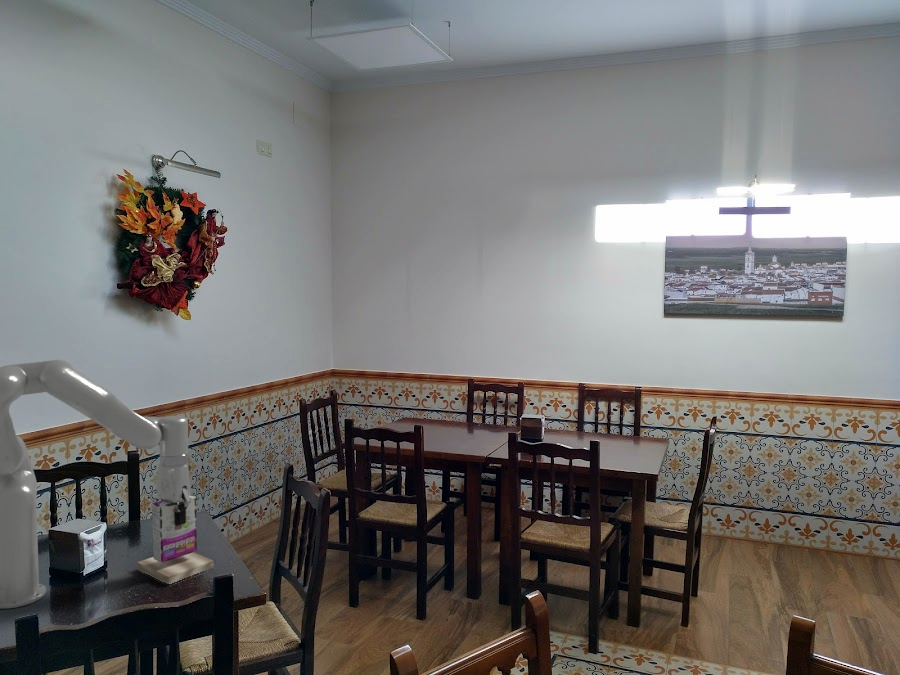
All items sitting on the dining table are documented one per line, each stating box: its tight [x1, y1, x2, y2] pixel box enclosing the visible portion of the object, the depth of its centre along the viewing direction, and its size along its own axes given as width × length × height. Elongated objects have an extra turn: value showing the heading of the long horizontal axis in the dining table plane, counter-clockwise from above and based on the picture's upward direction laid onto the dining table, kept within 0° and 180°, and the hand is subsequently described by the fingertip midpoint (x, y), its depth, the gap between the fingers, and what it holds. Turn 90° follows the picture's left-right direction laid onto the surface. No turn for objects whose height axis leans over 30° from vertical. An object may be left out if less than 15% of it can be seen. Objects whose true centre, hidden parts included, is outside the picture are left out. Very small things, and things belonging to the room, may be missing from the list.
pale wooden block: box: [137, 552, 215, 584], centre depth 196 cm, size 14×16×3 cm
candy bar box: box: [151, 494, 198, 563], centre depth 195 cm, size 11×5×16 cm, turn 143°
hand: (174, 521), depth 195 cm, fingers closed on candy bar box, 5 cm apart
